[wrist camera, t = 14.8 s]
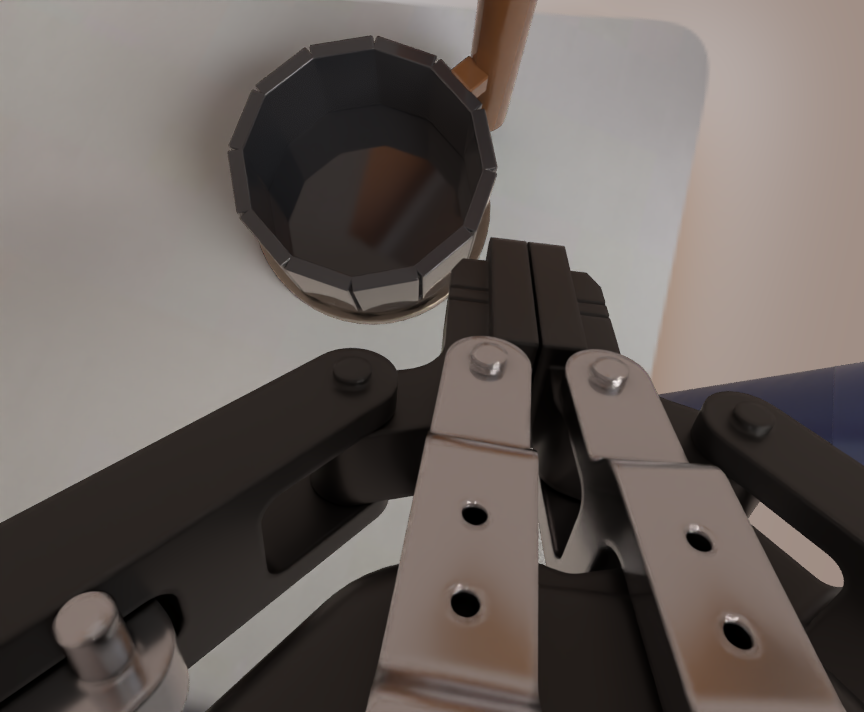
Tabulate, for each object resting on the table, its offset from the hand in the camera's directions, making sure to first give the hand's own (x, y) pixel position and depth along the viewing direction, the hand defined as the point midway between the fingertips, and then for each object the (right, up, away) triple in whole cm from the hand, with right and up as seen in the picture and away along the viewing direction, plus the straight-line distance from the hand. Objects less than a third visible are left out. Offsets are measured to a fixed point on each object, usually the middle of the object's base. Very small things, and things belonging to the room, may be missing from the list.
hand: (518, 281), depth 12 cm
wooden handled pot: (-3, +6, +15) cm, 16 cm away
